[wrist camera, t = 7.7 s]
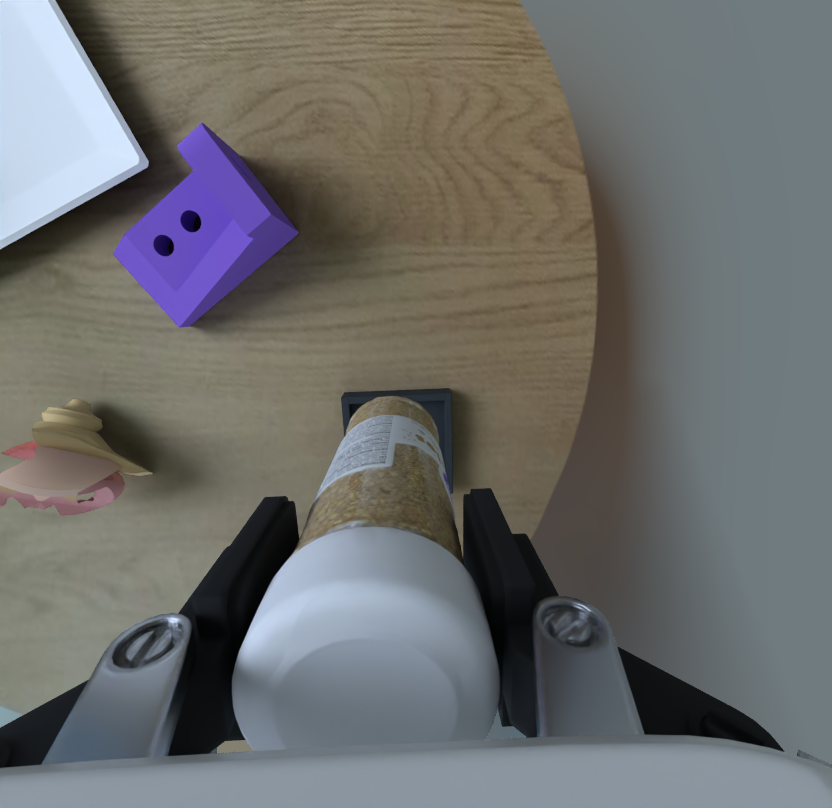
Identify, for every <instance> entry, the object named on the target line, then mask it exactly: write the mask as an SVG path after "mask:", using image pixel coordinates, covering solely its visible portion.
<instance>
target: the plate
mask: <svg viewBox="0 0 832 808" xmlns="http://www.w3.org/2000/svg"><path fill="white" fill-rule="evenodd" d="M148 163H149V161H148V160H147V158H146V156H145V154H144V153H143V151H142V149H141V147H140V146H139V144H138V142H137V141H136V139H135V137H134V135H133V134H132V132H131V130H130V128H129V127H128V125H127V123H126V122H125V120H124V118H123V116H122V115H121V113H120V111H119V109H118V108H117V106H116V104H115V103H114V101H113V99H112V97H111V96H110V94H109V92H108V91H107V89H106V87H105V85H104V84H103V82H102V80H101V78H100V77H99V75H98V73H97V72H96V70H95V68H94V66H93V65H92V63H91V61H90V59H89V58H88V56H87V54H86V53H85V51H84V49H83V47H82V46H81V44H80V42H79V40H78V39H77V37H76V35H75V34H74V32H73V30H72V28H71V27H70V25H69V23H68V21H67V20H66V18H65V16H64V15H63V13H62V11H61V9H60V8H59V6H58V4H57V3H56V1H55V0H0V249H1V248H3V247H5V246H7V245H9V244H10V243H12V242H14V241H16V240H18V239H19V238H21V237H23V236H25V235H27V234H28V233H30V232H32V231H34V230H36V229H37V228H39V227H41V226H43V225H45V224H46V223H48V222H50V221H52V220H54V219H55V218H57V217H59V216H61V215H63V214H64V213H66V212H68V211H70V210H72V209H74V208H75V207H77V206H79V205H81V204H83V203H84V202H86V201H88V200H90V199H92V198H93V197H95V196H97V195H99V194H101V193H102V192H104V191H106V190H108V189H110V188H111V187H113V186H115V185H117V184H119V183H120V182H122V181H124V180H126V179H128V178H129V177H131V176H133V175H135V174H137V173H138V172H140V171H142V170H144V169H146V168H147V167H148Z"/></svg>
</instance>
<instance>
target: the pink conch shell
mask: <svg viewBox="0 0 832 808" xmlns="http://www.w3.org/2000/svg"><path fill="white" fill-rule="evenodd" d="M42 417H43V421H40V422H36V423H35V424H34V425H33V428H32V435H33V438H34V439H35V441H32V442H28V443H25V444H21V445H18V446H15V447H12V448H10V449H8V450H6V451H4V452H2V454H5V455H8V456H12V457H17V458H22V459H27V460H26V461H24V462H22V463H20V464H18V465H16V466H14V467H12V468H10V469H8V470H6V471H4V472H2V473H0V507H1V506H4V505H5V504H6V501H7V499H8V498H9V497H13V498H15V499H16V500H18V501H19V502H20V503H21V504H22V505H23V507H24V508H26V507H32V508H40V509H46V508H48V507H50V506H52V505H55V507H56V509H57V510H58V512H59V513H60V515H61V516H62V515H74V514H79V513H84V512H88V511H91V510H95V509H98V508H100V507H103V506H105V505H108V504H110V503H111V502H113V501H114V500H115V499H116V498H117V497H119V496H120V494H121V493H122V492H123V490H124V487H125V483H124V480H123V478H122V476H121V475H120V474H119V473H117V472H116V471H119V472H122V473H125V474H129V475H135V476H141V475H150V474H153V473H151V472H149V471H147V470H145V469H144V468H142V467H140V466H138V465H136V464H135V463H133V462H131V461H129V460H127V459H125V458H124V457H122V456H120V455H118V454H117V453H115V452H114V451H113V450H112V449H111V448H110V447H109V446H108V444H107V443H106V442H105V441H104V440H103V439H102V437H101V436H100V435H99V434H98V433H96V432H98V431H99V430H100V429H101V428H103V425H102V420H101V419H100V418H98V417H96V416H95V415H94V414H93V413H92V412H91V409H90V403H88V402H86V401H84V400H79V399H73V400H71V401H70V402H69V403H68V404H67V405H65V406H62V407H49V408H48V409H47V410H46V411H45V412H43V413H42ZM90 492H95V493H96V494H95V495H94V496H93V497H91V498H90V499H89V500H78V501H76V500H77V495H81V494H86V493H90Z"/></svg>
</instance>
